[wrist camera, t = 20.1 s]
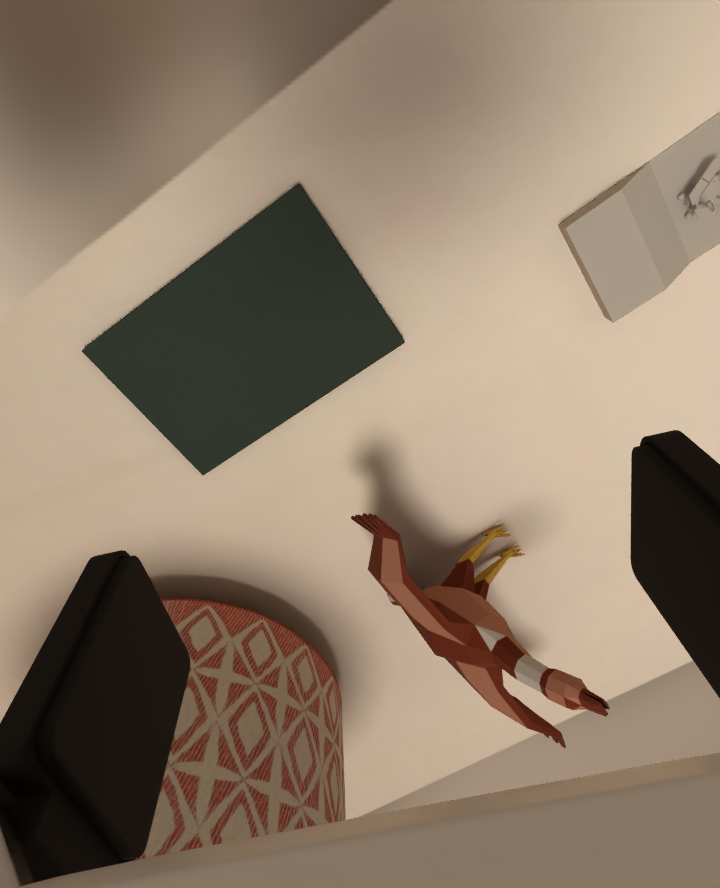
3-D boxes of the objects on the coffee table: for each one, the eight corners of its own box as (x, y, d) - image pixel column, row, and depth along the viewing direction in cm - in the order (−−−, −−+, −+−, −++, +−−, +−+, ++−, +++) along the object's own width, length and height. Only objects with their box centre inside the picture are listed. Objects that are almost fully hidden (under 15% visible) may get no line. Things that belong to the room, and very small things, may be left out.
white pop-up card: (557, 225, 37) (573, 231, 35) (739, 98, 34) (768, 96, 32) (604, 317, 40) (621, 328, 38) (774, 208, 37) (803, 212, 35)
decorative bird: (662, 629, 50) (686, 822, 39) (473, 649, 60) (450, 807, 49) (516, 378, 38) (493, 555, 27) (310, 456, 48) (233, 608, 37)
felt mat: (84, 348, 39) (81, 351, 38) (299, 183, 35) (298, 183, 34) (204, 471, 44) (203, 475, 43) (403, 339, 40) (405, 342, 39)
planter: (271, 533, 47) (230, 850, 26) (378, 731, 60) (409, 1051, 39) (-20, 629, 50) (-264, 982, 29) (141, 799, 63) (51, 1129, 42)
